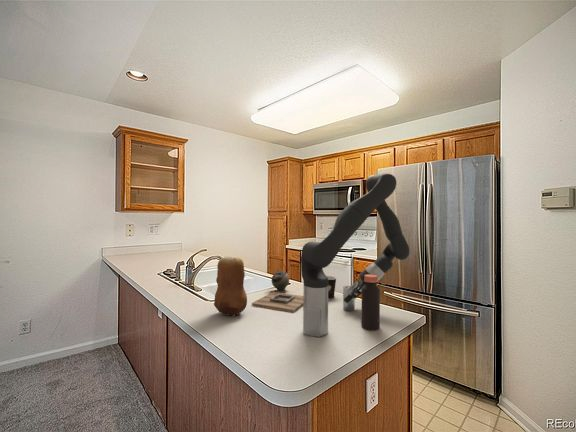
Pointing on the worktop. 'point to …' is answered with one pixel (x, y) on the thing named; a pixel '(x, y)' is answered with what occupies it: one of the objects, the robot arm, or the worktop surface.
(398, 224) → the robot arm
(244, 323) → the worktop surface
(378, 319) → the bottle
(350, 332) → the worktop surface
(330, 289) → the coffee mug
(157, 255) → the worktop surface
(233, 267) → the butternut squash
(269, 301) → the pocket base
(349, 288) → the steel hub
